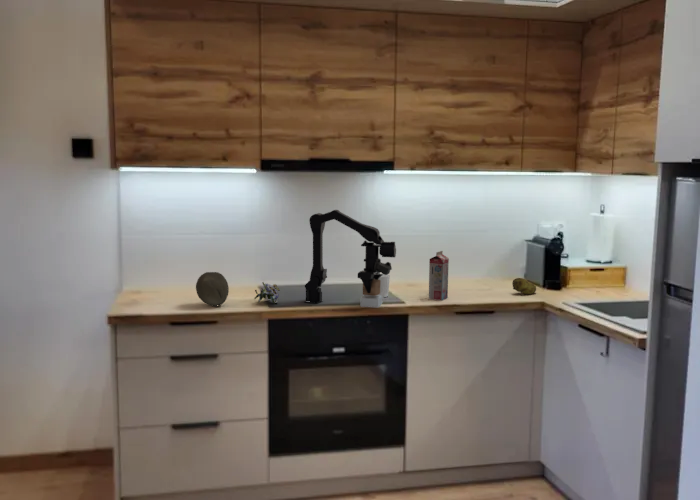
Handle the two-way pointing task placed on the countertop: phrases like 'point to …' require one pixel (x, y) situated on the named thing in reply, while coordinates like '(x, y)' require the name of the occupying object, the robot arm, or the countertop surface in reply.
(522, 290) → the potato
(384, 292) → the white cup
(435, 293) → the juice carton
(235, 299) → the countertop surface
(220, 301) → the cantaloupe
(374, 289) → the walnut cube
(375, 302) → the riser block
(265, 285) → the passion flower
